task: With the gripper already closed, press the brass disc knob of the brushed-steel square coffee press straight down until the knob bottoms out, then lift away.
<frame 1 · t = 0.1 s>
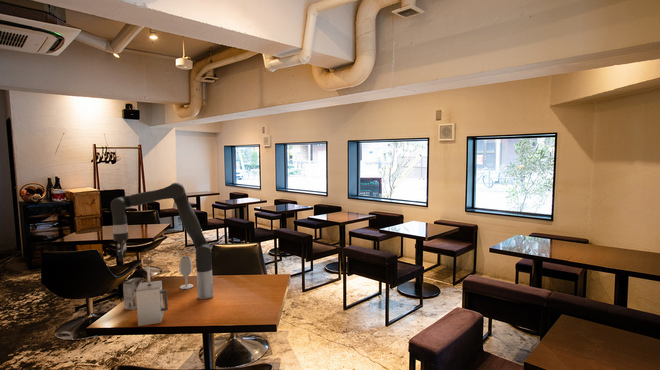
hand: (122, 259, 207), 29 cm above the table, fingers open, 8 cm apart
wineglass: (186, 287, 241), on the table
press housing: (151, 319, 193), on the table
coffee box: (134, 306, 211), on the table
brass disc knob: (148, 277, 191), point 24 cm above the table, slide at 12.0 cm
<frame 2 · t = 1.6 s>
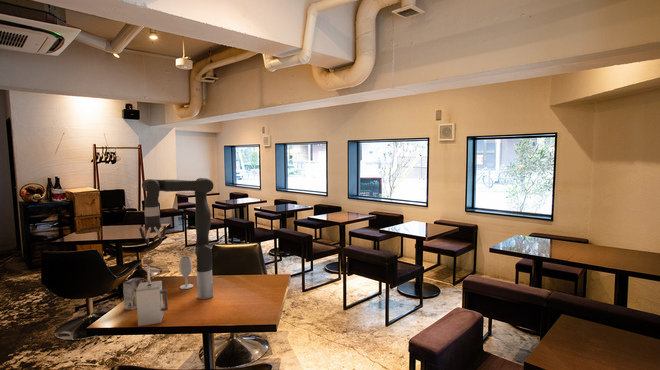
hand: (153, 244, 200), 39 cm above the table, fingers open, 5 cm apart
nothing on the table moved.
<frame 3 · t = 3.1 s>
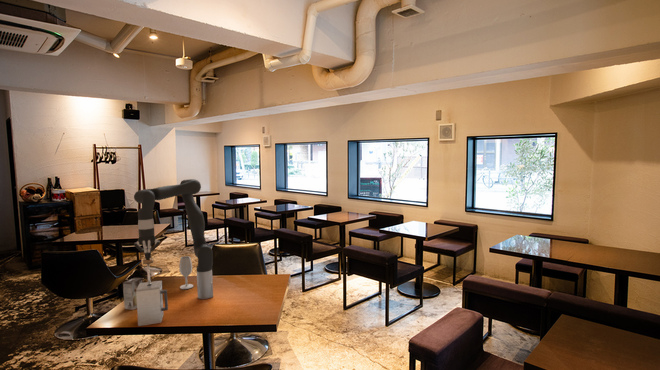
hand: (148, 259, 190), 34 cm above the table, fingers closed
brass disc knob: (148, 277, 191), point 24 cm above the table, slide at 12.0 cm, touching gripper
everything else where it was.
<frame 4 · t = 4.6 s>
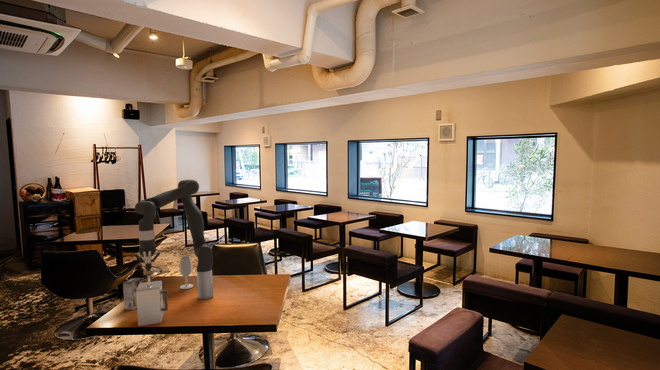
hand: (148, 269, 191), 28 cm above the table, fingers closed
brass disc knob: (149, 288, 191), point 18 cm above the table, slide at 6.1 cm, touching gripper
everything else where it was.
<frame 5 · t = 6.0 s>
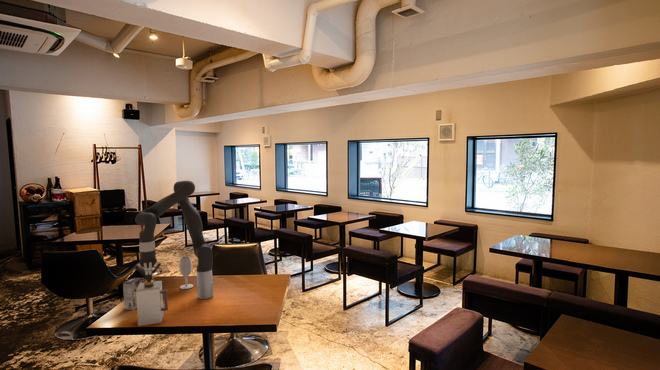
hand: (149, 281, 191), 22 cm above the table, fingers closed
brass disc knob: (150, 299, 192), point 12 cm above the table, slide at -0.1 cm, touching gripper
everything else where it was.
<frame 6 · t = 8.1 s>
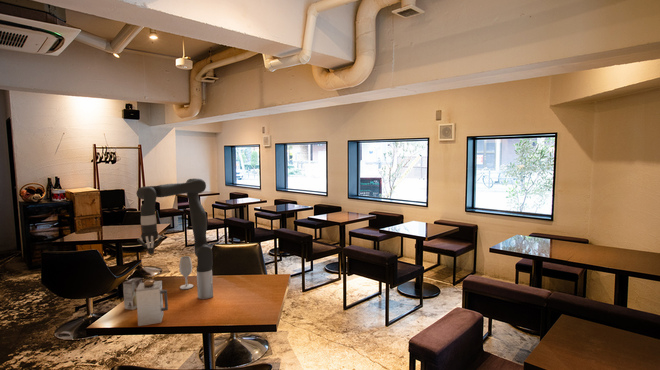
hand: (151, 254, 195), 35 cm above the table, fingers closed
brass disc knob: (150, 299, 192), point 12 cm above the table, slide at -0.1 cm
everything else where it was.
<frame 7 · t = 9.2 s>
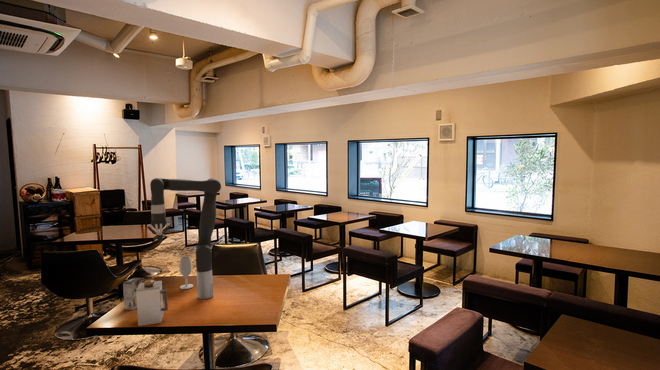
hand: (159, 240, 210), 39 cm above the table, fingers closed
nothing on the table moved.
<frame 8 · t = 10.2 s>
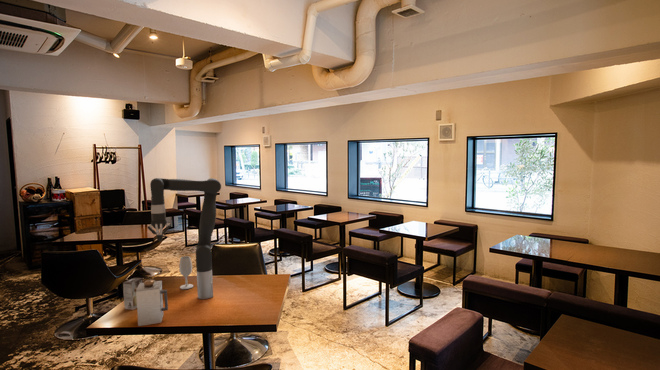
hand: (159, 240, 210), 39 cm above the table, fingers closed
nothing on the table moved.
at the end: brass disc knob slide at -0.1 cm; coffee box moved 0.2 cm from its start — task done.
